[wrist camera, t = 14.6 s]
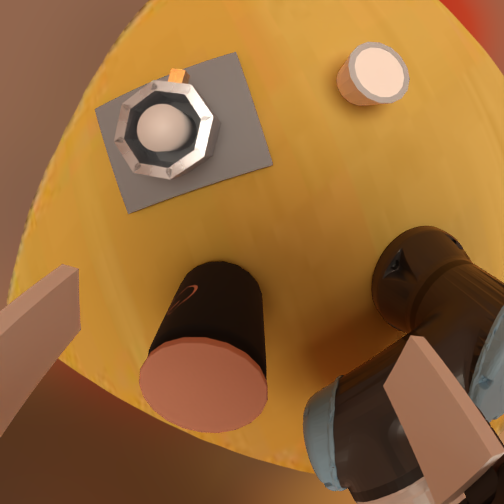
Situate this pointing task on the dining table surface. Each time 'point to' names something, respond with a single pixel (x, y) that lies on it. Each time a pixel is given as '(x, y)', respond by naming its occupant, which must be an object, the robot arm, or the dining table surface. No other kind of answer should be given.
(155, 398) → the coffee jar
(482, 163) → the dining table surface
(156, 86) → the mug
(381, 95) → the tan cup
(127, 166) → the grey plate with knob
